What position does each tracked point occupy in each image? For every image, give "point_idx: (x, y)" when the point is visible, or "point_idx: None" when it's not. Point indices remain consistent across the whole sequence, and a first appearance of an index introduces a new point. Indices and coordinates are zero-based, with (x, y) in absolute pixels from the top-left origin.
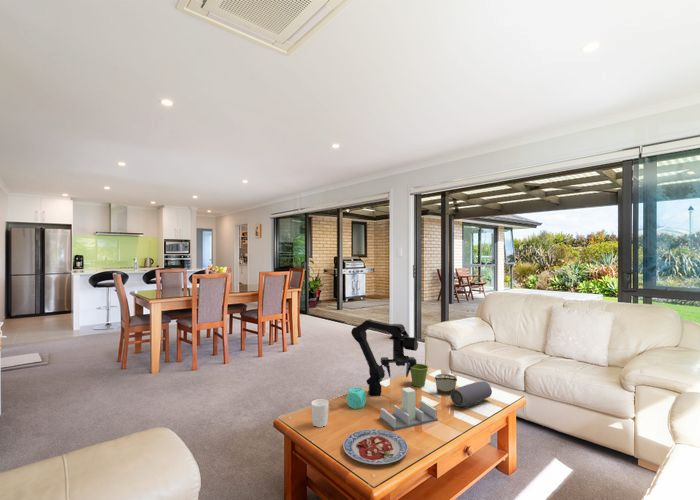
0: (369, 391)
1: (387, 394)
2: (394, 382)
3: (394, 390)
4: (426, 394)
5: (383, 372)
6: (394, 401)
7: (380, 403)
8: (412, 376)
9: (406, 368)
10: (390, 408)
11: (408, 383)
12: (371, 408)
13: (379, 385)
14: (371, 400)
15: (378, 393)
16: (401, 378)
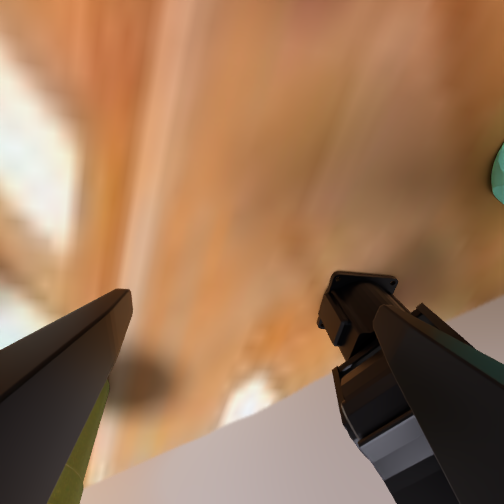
0: (399, 302)
1: (285, 289)
2: (202, 409)
3: (228, 332)
4: (30, 265)
5: (387, 425)
6: (280, 183)
7: (383, 165)
8: (84, 430)
9: (49, 480)
10: (357, 54)
11: (131, 399)
12: (485, 85)
13: (360, 323)
14: (413, 220)
15: (345, 288)
16: (157, 441)
